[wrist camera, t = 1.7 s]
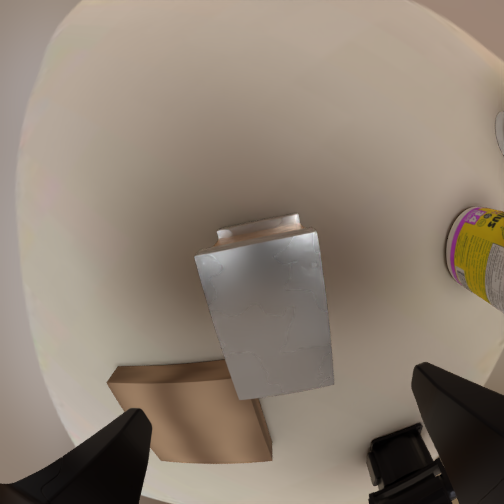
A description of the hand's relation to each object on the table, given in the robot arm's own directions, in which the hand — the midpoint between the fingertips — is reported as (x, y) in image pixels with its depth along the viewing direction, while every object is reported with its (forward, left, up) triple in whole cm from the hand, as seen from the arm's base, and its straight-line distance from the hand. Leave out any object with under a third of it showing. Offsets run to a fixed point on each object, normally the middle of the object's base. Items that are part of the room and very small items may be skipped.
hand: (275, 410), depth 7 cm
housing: (0, 0, -12) cm, 12 cm away
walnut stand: (+9, +12, -12) cm, 19 cm away
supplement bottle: (-17, +1, -12) cm, 21 cm away
